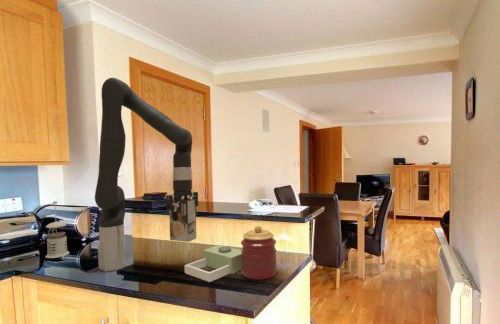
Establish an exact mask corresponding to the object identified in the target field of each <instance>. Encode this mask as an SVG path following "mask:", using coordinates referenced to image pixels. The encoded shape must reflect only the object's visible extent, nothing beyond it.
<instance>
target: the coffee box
mask: <svg viewBox="0 0 500 324" xmlns="http://www.w3.org/2000/svg"><path fill="white" fill-rule="evenodd" d="M173 203H178V201H175V199H174V198H173ZM179 204H180V206H179V207H178V209H177V211H176V212H177V221H173V220H172V218H171V211H170V210H168V211H169V240H170V241H174V242H176V241H177V242H186V243H189V242H192V241H193V240H196V239H197V206H196V199H192V198H191V199H189V200H188V199H187V200H182V201H180V203H179ZM174 208H175V206H174Z"/></svg>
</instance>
